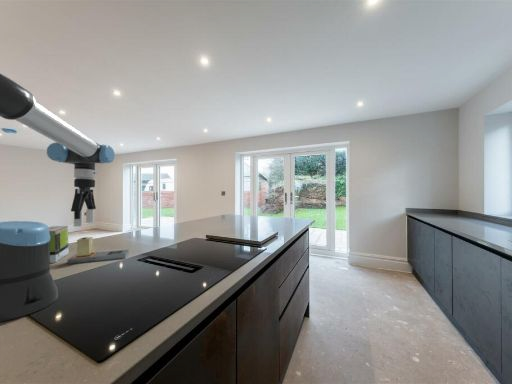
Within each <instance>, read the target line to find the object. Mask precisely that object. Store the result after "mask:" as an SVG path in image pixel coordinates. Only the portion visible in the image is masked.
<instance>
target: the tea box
mask: <svg viewBox="0 0 512 384" xmlns="http://www.w3.org/2000/svg"><path fill="white" fill-rule="evenodd" d="M48 228H49V235H50V264H53V263H54V264H55V263H57V262H59V261H60V260H61V259H63V258H64V257H65V256H67V255H68V254H69V252H70V251H69V226H68V225H56V226H54V225H53V226H48Z"/></svg>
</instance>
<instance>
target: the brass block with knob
mask: <svg viewBox="0 0 512 384" xmlns="http://www.w3.org/2000/svg"><path fill="white" fill-rule="evenodd" d="M93 241H94V239H93V237H92V236H89V237H88V236H86V237H81V238H78V239H76V254H77V257H86V256H91V255H92V254H93V252H94V247H93V246H94V242H93Z"/></svg>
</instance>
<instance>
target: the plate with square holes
mask: <svg viewBox="0 0 512 384" xmlns="http://www.w3.org/2000/svg"><path fill="white" fill-rule="evenodd" d="M129 254H130V249H121V250H119V249H118V250H109V251H93V254H92V255H91V256H86V257H77V253H76V254H74V255H72V256H70V257H69V258H67V265H70V264H81V263H89V262H101V261H102V262H103V261H110V260H111V261H112V260H118V259H119V260H122V259H126V258H127V257H128V256H129Z"/></svg>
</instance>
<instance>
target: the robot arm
mask: <svg viewBox="0 0 512 384" xmlns="http://www.w3.org/2000/svg"><path fill="white" fill-rule="evenodd" d="M0 117H1V118H3V119H5V120H9V121H16V122H18V123H20V124H22V125H24V126H25V127H28V128H29V129H31V130H33V131H35V132H37V133H38V134H41V135H43V136H44V137H45V138H48V139H49V140H51V141H53V143H51V144H49V145H48V146H47V148H46V155H47V157H48V158H49V159H50V160H51V161H54V162H58V163H62V164H63V163H64V164H71V165H74V167H73V168H74V170H73V177H74V179H73V181H74V182H73V183H74V184H73V185H74V188H75V189H74V197H73V201H72V206H71V209H70V212H72V213H73V227H76V228H77V227H83V210H82V209H83V208H84V203H85V206H86V208H87V209H86V212H85V213H86V215H85V216H86V219H85V220H86V222H85V223H86V224H91V223H92V224H93V223H94V215H95V214H94V213H95V212H94V211H95V210H96V208H97V207H96V202H95V196H94V189H91V188H95V187H96V180H95V178H96V174H97V172H96V164H111V163H112V162H113V161H114V159H115V151H114V149H113V148H112V146H110V145H107V144H99V143H98V142H96V141H95V140H93V139H92V138H90V137H89V136H87V135H86V134H85V133H83V132H82V131H80V130H79V129H77V128H76V127H74V126H73V125H71V124H70V123H69V122H67V121H66V120H64V119H63V118H61V117H60V116H58V115H57V114H55V113H54V112H53V111H51V110H50V109H48V108H47V107H45V106H44V105H43V104H41V103H39V102H38V101H37V100H36V98H35V96H34V94H33V93H32V92H30V91H28V90H27V89H26V88H24V87H23V86H22V85H20V84H18V83H17V82H16V81H14V80H12V79H11V78H9V77H8V76H5V75H4V74H2V73H0ZM48 227H49V226H48V225H47V224H45V223H43V222H39V221H30V220H22V221H19V220H12V221H0V323H1V322H5V321H6V322H7V321H10V320H14V319H18V318H21V317H25V316H27V315H31V314H33V313H36V312H38V311H40V310H43V309H45V308H47V307H48V306H50V305H52V304H53V303H55V302H56V301H57V300H58V298H59V290H58V287H57V285H56V283H55V281H54V279H53V277H52V275H51V272H50V271H51V270H50V269H51V268H50V266H51V263H50V235H49V228H48Z"/></svg>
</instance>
